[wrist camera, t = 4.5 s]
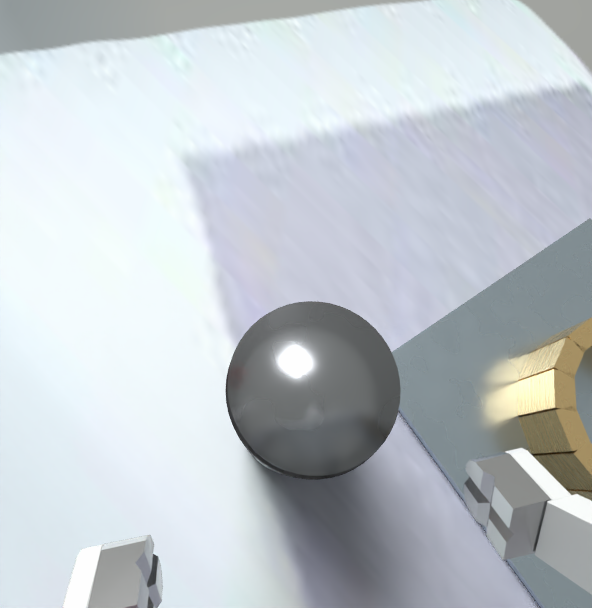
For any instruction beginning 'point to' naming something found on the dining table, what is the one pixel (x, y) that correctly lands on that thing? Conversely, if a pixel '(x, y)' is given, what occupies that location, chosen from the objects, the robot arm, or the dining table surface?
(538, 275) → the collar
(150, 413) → the dining table surface
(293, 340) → the cylinder
